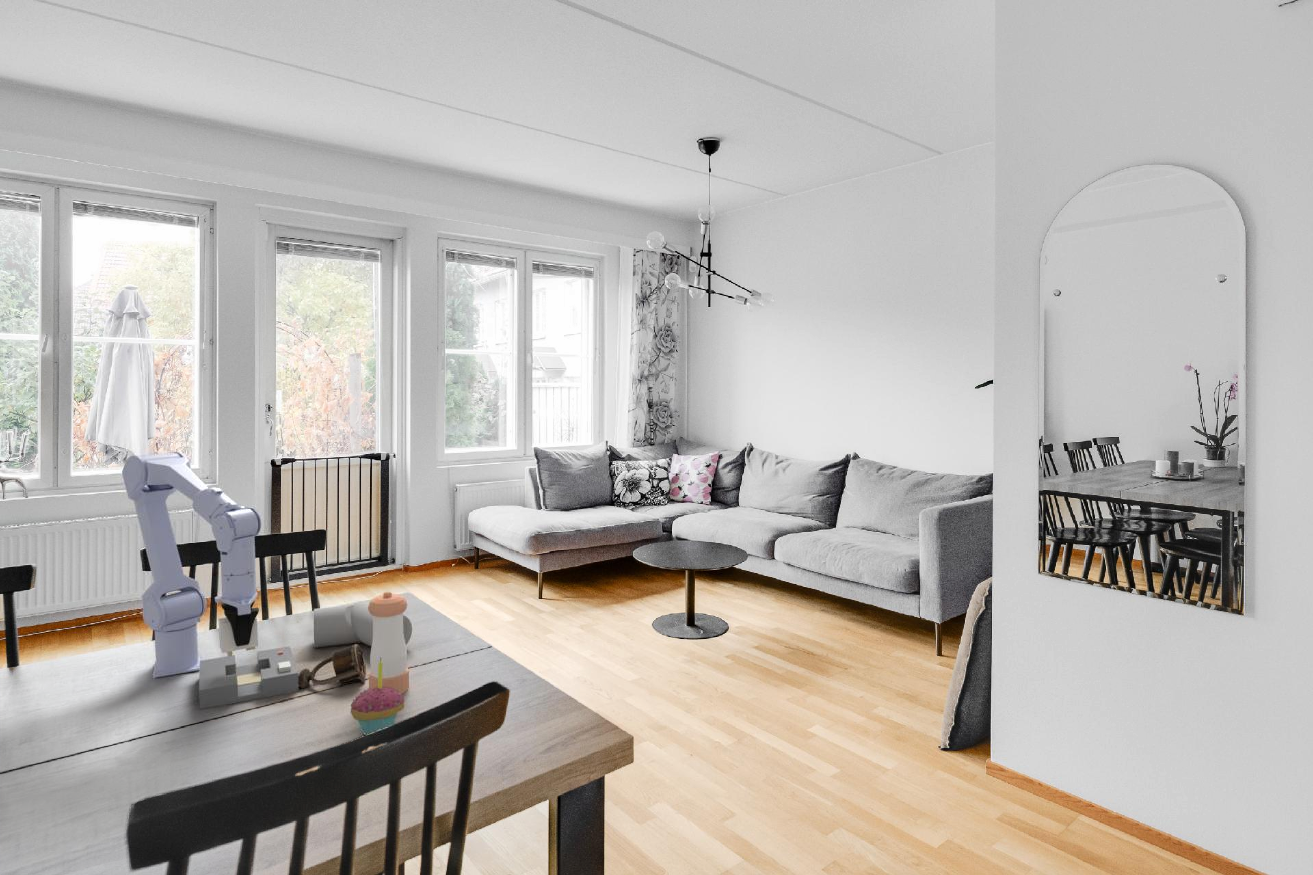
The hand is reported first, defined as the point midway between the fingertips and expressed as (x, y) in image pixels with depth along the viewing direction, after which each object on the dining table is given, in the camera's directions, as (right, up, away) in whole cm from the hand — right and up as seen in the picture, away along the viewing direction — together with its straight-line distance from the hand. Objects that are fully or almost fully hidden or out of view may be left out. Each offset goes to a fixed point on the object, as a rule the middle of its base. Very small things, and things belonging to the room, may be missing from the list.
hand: (241, 641), depth 142 cm
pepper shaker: (+29, -9, 0) cm, 30 cm away
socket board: (+1, -9, +1) cm, 9 cm away
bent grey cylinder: (+15, -8, +23) cm, 28 cm away
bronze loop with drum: (+17, -9, +4) cm, 19 cm away
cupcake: (+33, -11, -17) cm, 38 cm away
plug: (0, -2, 0) cm, 2 cm away
